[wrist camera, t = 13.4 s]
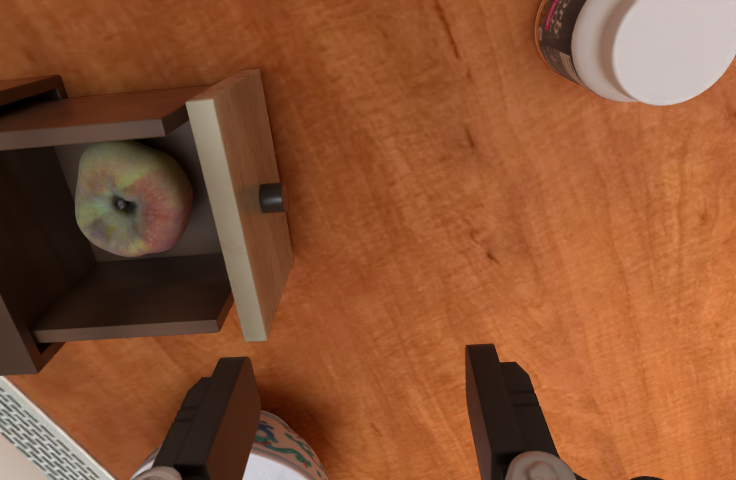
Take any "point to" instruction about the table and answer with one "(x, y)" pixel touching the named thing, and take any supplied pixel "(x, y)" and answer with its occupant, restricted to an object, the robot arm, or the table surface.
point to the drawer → (153, 270)
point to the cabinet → (3, 318)
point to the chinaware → (272, 454)
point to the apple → (131, 198)
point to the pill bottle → (638, 46)
